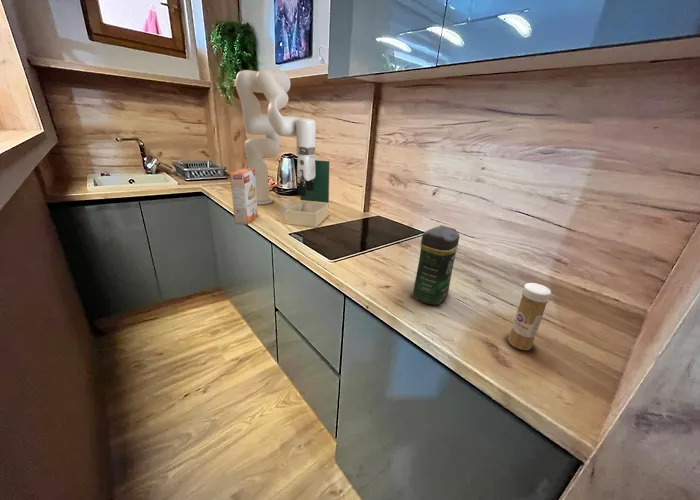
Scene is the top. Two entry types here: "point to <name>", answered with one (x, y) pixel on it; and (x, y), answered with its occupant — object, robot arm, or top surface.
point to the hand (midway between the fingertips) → (305, 192)
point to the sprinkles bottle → (529, 315)
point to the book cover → (319, 184)
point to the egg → (307, 207)
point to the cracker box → (244, 195)
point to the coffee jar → (435, 264)
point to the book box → (306, 214)
